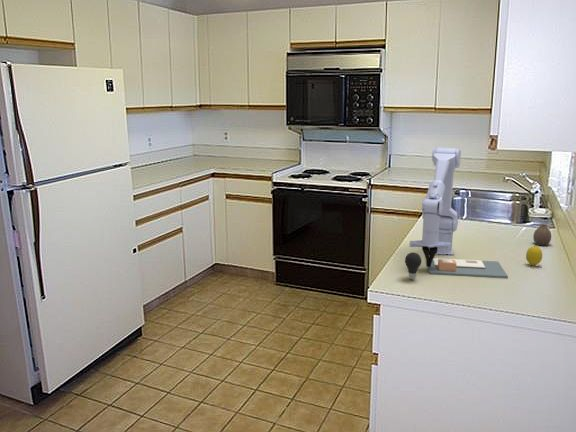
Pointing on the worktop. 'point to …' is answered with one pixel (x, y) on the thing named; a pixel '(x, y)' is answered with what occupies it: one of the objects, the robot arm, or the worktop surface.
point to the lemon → (534, 255)
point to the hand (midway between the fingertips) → (428, 265)
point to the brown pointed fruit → (542, 235)
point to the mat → (473, 270)
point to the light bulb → (412, 264)
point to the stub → (446, 265)
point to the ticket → (464, 263)
